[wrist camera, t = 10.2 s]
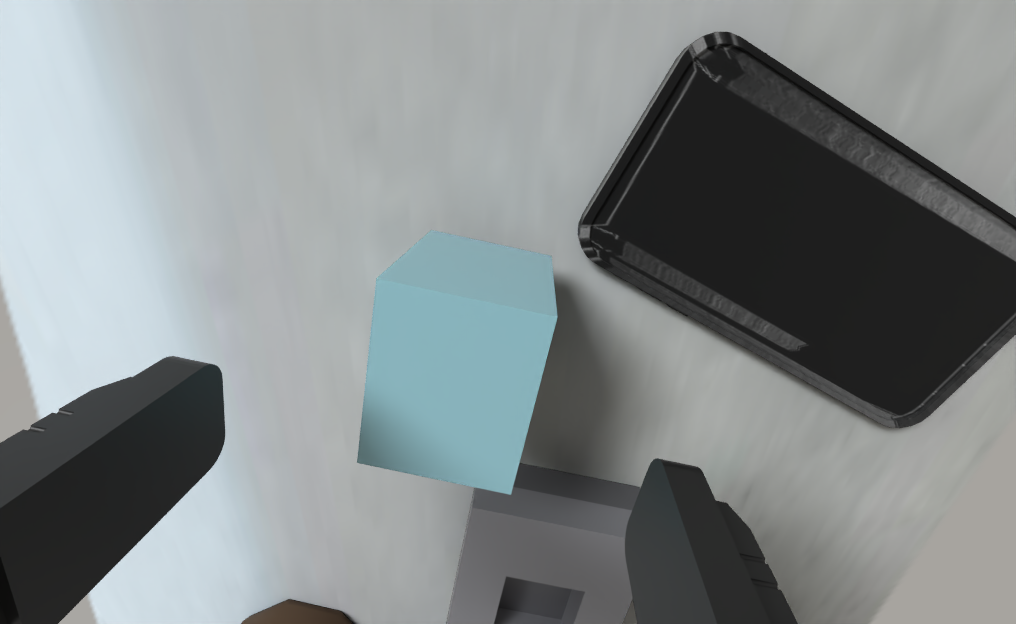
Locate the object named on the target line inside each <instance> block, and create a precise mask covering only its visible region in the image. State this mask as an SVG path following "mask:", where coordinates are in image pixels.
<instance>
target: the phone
mask: <svg viewBox="0 0 1016 624" xmlns="http://www.w3.org/2000/svg"><path fill="white" fill-rule="evenodd" d="M578 237H579V241H580V245H581V248H582V249H583V251H584V253H585V254H586V256H587V257H588V258H589V259H590V260H592V261H593V262H594V263H595V264H597V265H599V266H601V267H603V268H604V269H606V270H608V271H610V272H611V273H613V274H614V275H616V276H618V277H620V278H621V279H623V280H625V281H627V282H629V283H631V284H633V285H635V286H636V287H638V288H639V289H640V290H642V291H644V292H645V293H647V294H649V295H651V296H652V297H654V298H656V299H658V300H660V301H663V302H665V303H667V305H668V306H669V307H671V308H673V309H675V310H676V311H678V312H680V313H682V314H684V315H685V316H690V317H692V318H693V319H695V320H697V321H699V322H700V323H702V324H704V325H706V326H708V327H709V328H711V329H713V330H715V331H717V332H718V333H720V334H722V335H724V336H725V337H727V338H729V339H731V340H733V341H734V342H736V343H738V344H740V345H741V346H743V347H745V348H747V349H749V350H750V351H752V352H754V353H756V354H757V355H759V356H761V357H763V358H765V359H766V360H768V361H770V362H772V363H773V364H775V365H777V366H779V367H781V368H782V369H784V370H786V371H788V372H790V373H791V374H793V375H795V376H797V377H798V378H800V379H802V380H804V381H806V382H807V383H809V384H811V385H813V386H814V387H816V388H818V389H820V390H822V391H823V392H825V393H827V394H829V395H830V396H832V397H834V398H836V399H838V400H839V401H841V402H843V403H845V404H846V405H848V406H850V407H852V408H854V409H855V410H857V411H859V412H861V413H862V414H864V415H866V416H868V417H870V418H871V419H873V420H875V421H877V422H879V423H880V424H882V425H885V426H888V427H891V428H903V427H909V426H912V425H915V424H917V423H919V422H921V421H923V420H924V419H925V418H927V417H928V416H929V415H931V414H932V413H933V412H934V411H935V410H936V409H937V408H938V407H939V406H940V405H941V404H942V403H943V402H944V401H945V400H946V399H948V398H949V397H950V396H951V395H952V394H953V393H954V392H955V391H956V390H957V389H958V388H959V387H960V386H961V385H962V384H963V383H965V382H966V381H967V380H968V379H969V378H970V377H971V376H972V375H973V374H974V373H975V372H976V371H977V370H978V369H979V368H980V367H982V366H983V365H984V364H985V363H986V362H987V361H988V360H989V359H990V358H991V357H992V356H993V355H994V354H995V353H996V352H997V351H999V350H1000V349H1001V348H1002V347H1003V346H1004V345H1005V344H1006V343H1007V342H1008V341H1009V340H1010V339H1011V338H1012V337H1013V336H1014V335H1016V217H1014V216H1013V215H1011V214H1010V213H1008V212H1007V211H1005V210H1004V209H1002V208H1001V207H999V206H998V205H996V204H995V203H993V202H991V201H990V200H988V199H987V198H985V197H984V196H982V195H981V194H979V193H978V192H976V191H975V190H973V189H972V188H970V187H969V186H967V185H966V184H964V183H963V182H961V181H959V180H958V179H956V178H955V177H953V176H952V175H950V174H949V173H947V172H946V171H944V170H943V169H941V168H940V167H938V166H937V165H935V164H934V163H932V162H930V161H929V160H927V159H926V158H924V157H923V156H921V155H920V154H918V153H917V152H915V151H914V150H912V149H911V148H909V147H908V146H906V145H905V144H903V143H902V142H900V141H898V140H897V139H895V138H894V137H892V136H891V135H889V134H888V133H886V132H885V131H883V130H882V129H880V128H879V127H877V126H876V125H874V124H873V123H871V122H870V121H868V120H866V119H865V118H863V117H862V116H860V115H859V114H857V113H856V112H854V111H853V110H851V109H850V108H848V107H847V106H845V105H844V104H842V103H841V102H839V101H837V100H836V99H834V98H833V97H831V96H830V95H828V94H827V93H825V92H824V91H822V90H821V89H819V88H818V87H816V86H815V85H813V84H812V83H810V82H809V81H807V80H805V79H804V78H802V77H801V76H799V75H798V74H796V73H795V72H793V71H792V70H790V69H789V68H787V67H786V66H784V65H783V64H781V63H780V62H778V61H776V60H775V59H773V58H772V57H770V56H769V55H767V54H766V53H764V52H763V51H761V50H760V49H758V48H757V47H755V46H754V45H752V44H751V43H749V42H748V41H746V40H744V39H743V38H741V37H740V36H737V35H735V34H732V33H730V32H714V33H711V34H708V35H705V36H702V37H701V38H699V39H698V40H696V41H694V42H693V43H692V44H690V45H689V46H687V47H686V48H685V49H684V50H683V51H682V52H681V54H680V55H679V56H678V57H677V59H676V60H675V62H674V63H673V65H672V67H671V68H670V70H669V72H668V73H667V75H666V77H665V78H664V80H663V81H662V83H661V85H660V86H659V88H658V90H657V91H656V93H655V95H654V96H653V98H652V100H651V101H650V103H649V105H648V106H647V108H646V110H645V111H644V113H643V115H642V116H641V118H640V120H639V121H638V123H637V125H636V126H635V128H634V130H633V131H632V133H631V135H630V136H629V138H628V139H627V141H626V143H625V144H624V146H623V148H622V149H621V151H620V153H619V154H618V156H617V158H616V159H615V161H614V163H613V164H612V166H611V168H610V169H609V171H608V173H607V174H606V176H605V178H604V179H603V181H602V183H601V184H600V186H599V188H598V189H597V191H596V193H595V194H594V196H593V198H592V199H591V201H590V202H589V204H588V206H587V207H586V209H585V211H584V212H583V214H582V217H581V219H580V221H579V225H578Z"/></svg>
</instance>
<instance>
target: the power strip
mask: <svg viewBox="0 0 1016 624" xmlns="http://www.w3.org/2000/svg"><path fill="white" fill-rule="evenodd" d="M639 491H640V488H639V487H636V486H631V485H626V484H621V483H616V482H611V481H606V480H600V479H595V478H590V477H585V476H580V475H575V474H570V473H565V472H560V471H555V470H550V469H545V468H540V467H535V466H530V465H525V464H520V463H519V466H518V470H517V474H516V478H515V481H514V485H513V489H512V493H511V495H510V494H505V493H500V492H495V491H490V490H486V489H481V488H476V487H475V488H474V492H473V497H472V502H471V507H470V512H469V516H468V521H467V526H466V531H465V536H464V541H463V545H462V550H461V555H460V560H459V565H458V569H457V574H456V579H455V584H454V589H453V593H452V598H451V603H450V608H449V613H448V617H447V622H446V624H623V621H624V619H625V616H626V614H627V612H628V609H629V607H630V604H631V602H632V599H633V597H632V591H631V586H630V580H629V575H628V569H627V564H626V558H625V534H626V528H627V524H628V520H629V517H630V515H631V512H632V510H633V507H634V504H635V502H636V499H637V497H638V494H639Z"/></svg>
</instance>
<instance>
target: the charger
mask: <svg viewBox="0 0 1016 624" xmlns="http://www.w3.org/2000/svg"><path fill="white" fill-rule="evenodd" d="M557 317H558V316H557V306H556V297H555V287H554V277H553V268H552V258H551V256H549V255H545V254H540V253H536V252H531V251H526V250H522V249H517V248H512V247H508V246H503V245H498V244H494V243H489V242H484V241H480V240H475V239H471V238H466V237H461V236H457V235H452V234H447V233H443V232H438V231H433V230H431V231H430V232H429V233H428V234H426V235H425V236H424V237H423V238H422V239H421V240H420V241H418V242H417V243H416V244H415V245H414V246H413V247H412V248H410V249H409V250H408V251H407V252H406V253H405V254H404V255H403V256H401V257H400V258H399V259H398V260H397V261H396V262H395V263H393V264H392V265H391V266H390V267H389V268H388V269H387V270H385V271H384V272H383V273H382V274H381V275H380V276H379V277H377V279H376V288H375V298H374V307H373V317H372V326H371V336H370V345H369V355H368V364H367V374H366V383H365V393H364V402H363V412H362V421H361V431H360V440H359V450H358V459H357V463H360V464H365V465H370V466H375V467H380V468H385V469H389V470H394V471H399V472H404V473H409V474H413V475H418V476H423V477H428V478H433V479H437V480H442V481H447V482H452V483H457V484H462V485H466V486H471V487H476V488H481V489H486V490H490V491H495V492H500V493H505V494H510V495H511V493H512V489H513V485H514V481H515V478H516V474H517V470H518V466H519V462H520V458H521V455H522V451H523V447H524V443H525V439H526V436H527V432H528V428H529V424H530V420H531V417H532V413H533V409H534V405H535V401H536V397H537V394H538V390H539V386H540V382H541V378H542V375H543V371H544V367H545V363H546V359H547V356H548V352H549V348H550V344H551V340H552V336H553V333H554V329H555V325H556V321H557Z"/></svg>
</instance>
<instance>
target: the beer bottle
mask: <svg viewBox="0 0 1016 624" xmlns="http://www.w3.org/2000/svg"><path fill="white" fill-rule="evenodd" d="M241 624H353V623H352V622H351V621H350V620H349V619H348V618H347V617H346V616H345V615H344V614H343V613H342V612H341V611H338V610H334V609H329V608H325V607H321V606H316V605H312V604H308V603H303V602H299V601H295V600H290V599H288V600H286V601H283V602H281V603H279V604H276V605H274V606H272V607H270V608H267V609H265V610H263V611H260V612H258V613H256V614H253V615H251V616H249V617H248V618H247V619H245V620H244V621H243V622H242V623H241Z"/></svg>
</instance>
